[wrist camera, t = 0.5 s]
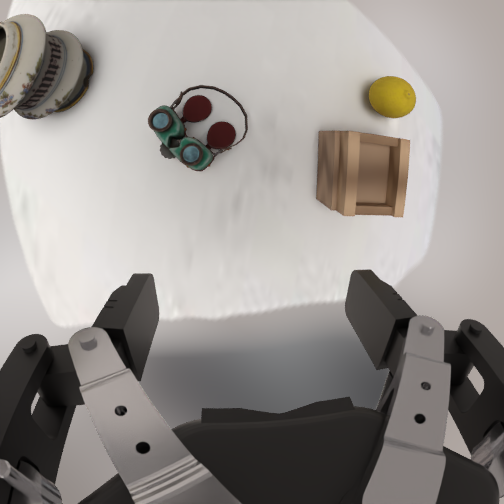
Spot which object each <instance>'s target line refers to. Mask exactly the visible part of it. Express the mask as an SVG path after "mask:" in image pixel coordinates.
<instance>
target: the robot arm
mask: <svg viewBox="0 0 504 504" xmlns="http://www.w3.org/2000/svg"><path fill="white" fill-rule="evenodd" d="M345 312H346V316H347V318H348V320H349V321H350V323H351V325H352V327H353V328H354V330H355V332H356V334H357V335H358V337H359V339H360V341H361V342H362V344H363V346H364V348H365V350H366V351H367V353H368V355H369V357H370V359H371V360H372V362H373V364H374V366H375V368H376V370H380V369H385V368H389V370H390V371H389V373H388V375H387V378H386V382H385V384H384V387H383V391H382V394H381V397H380V400H379V403H378V405H377V408H376V410H373V409H369V408H364V407H356V406H353V404H352V401H351V399H350V397H345V398H339V399H333V400H327V401H319V402H315V403H312V404H309V405H306V406H303V407H300V408H297V409H294V410H291V411H288V412H285V413H280V414H277V413H268V412H261V411H254V410H248V409H242V408H230V409H229V408H224V409H213V408H212V409H211V408H210V409H209V408H206V409H205V408H202V417H201V419H198V420H193V421H190V422H186V423H184V424H182V425H179V426H177V427H175V428H173V429H171V428H170V427H169V426H168V425H167V423H166V422H165V420H164V419H163V418H162V416H161V415H160V414H159V412H158V411H157V409H156V408H155V407H154V405H153V404H152V402H151V401H150V399H149V398H148V396H147V395H146V393H145V392H144V390H143V389H142V387H141V386H140V384H139V383H138V381H141V378H142V374H143V371H144V367H145V364H146V360H147V357H148V354H149V350H150V347H151V344H152V340H153V337H154V334H155V331H156V328H157V325H158V321H159V306H158V300H157V295H156V289H155V282H154V277H153V275H152V274H133V275H132V277H131V278H130V280H129V282H128V283H127V285H126V286H120V287H119V288H118V289H116V290H115V291H114V292H113V293H112V294H111V296H110V297H109V299H108V301H107V302H106V304H105V305H104V308H103V309H102V310H101V312H100V314H99V315H98V317H97V319H96V320H95V322H94V324H93V325H92V327H89V328H85V329H82V330H80V331H78V332H76V333H75V334H74V335H73V336H72V337H71V338H70V340H69V343H68V344H66V345H58V346H50V345H49V343H48V341H47V339H46V338H45V337H44V336H43V335H39V334H32V335H29V336H26V337H24V338H23V339H21V340H20V341H19V342H18V343H17V344H16V346H15V347H14V349H13V351H12V352H11V354H10V355H9V357H8V358H7V360H6V362H5V363H4V365H3V367H2V368H1V370H0V504H63V503H62V498H61V494H60V492H59V490H58V489H57V487H56V486H55V481H56V477H57V472H58V468H59V464H60V459H61V456H62V452H63V448H64V444H65V441H66V437H67V433H68V430H69V427H70V424H71V420H72V417H73V414H74V411H75V408H76V405H83V404H85V405H86V407H87V410H88V412H89V414H90V417H91V419H92V421H93V423H94V426H95V428H96V430H97V432H98V435H99V437H100V439H101V441H102V443H103V445H104V447H105V449H106V451H107V453H108V455H109V457H110V458H111V460H112V462H113V464H114V466H115V468H116V469H117V471H118V474H116V475H115V476H114V477H113V478H111V479H110V480H109V481H107V482H106V483H105V484H103V485H102V486H101V487H100V488H98V489H97V490H96V491H94V492H93V493H92V494H90V495H89V496H88V497H86V498H85V499H83V500H82V501H81V502H80V503H78V504H499V498H501V497H503V496H504V348H503V346H502V345H501V344H500V343H499V342H498V340H497V339H496V338H495V337H494V336H493V335H492V334H491V332H490V331H489V330H488V329H487V328H486V327H485V326H484V325H482V324H481V323H480V322H478V321H475V320H471V319H466V320H463V321H462V322H461V324H460V326H459V328H458V330H457V331H449V330H444V328H443V326H442V325H441V324H440V323H439V322H438V321H437V320H435V319H433V318H431V317H428V316H417V314H416V313H415V312H414V311H413V310H412V309H411V308H410V307H409V305H408V304H407V303H406V302H405V301H404V300H402V297H401V296H400V295H399V294H397V292H396V291H395V290H394V289H393V288H392V286H390V285H388V284H387V283H385V282H383V281H382V280H380V279H379V278H378V277H377V276H376V275H375V273H374V272H373V271H372V270H354V271H353V272H352V274H351V277H350V282H349V288H348V293H347V297H346V302H345ZM473 366H475V367H476V369H477V370H478V372H479V373H480V374H481V376H482V377H483V379H484V389H483V391H482V393H481V394H480V395H479V394H478V392H477V391H476V389H475V388H474V386H473V384H472V383H471V381H470V380H469V379H468V377H467V376H468V374H469V373H470V371H471V370H472V368H473ZM37 392H38V394H39V395H40V397H39V399H38V402H37V404H36V406H35V409H34V411H33V414H32V415H31V404H32V402H33V400H34V397H35V395H36V393H37ZM448 410H449V412H450V414H451V416H452V417H453V420H454V421H455V423H456V425H457V427H458V429H459V431H460V433H461V435H462V437H463V439H464V441H465V443H466V445H467V447H468V450H469V451H470V453H471V460H470V459H468V458H466V457H464V456H462V455H460V454H458V453H456V452H454V451H452V450H450V449H448V448H446V447H444V446H443V443H444V437H445V430H446V423H447V415H448Z"/></svg>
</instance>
